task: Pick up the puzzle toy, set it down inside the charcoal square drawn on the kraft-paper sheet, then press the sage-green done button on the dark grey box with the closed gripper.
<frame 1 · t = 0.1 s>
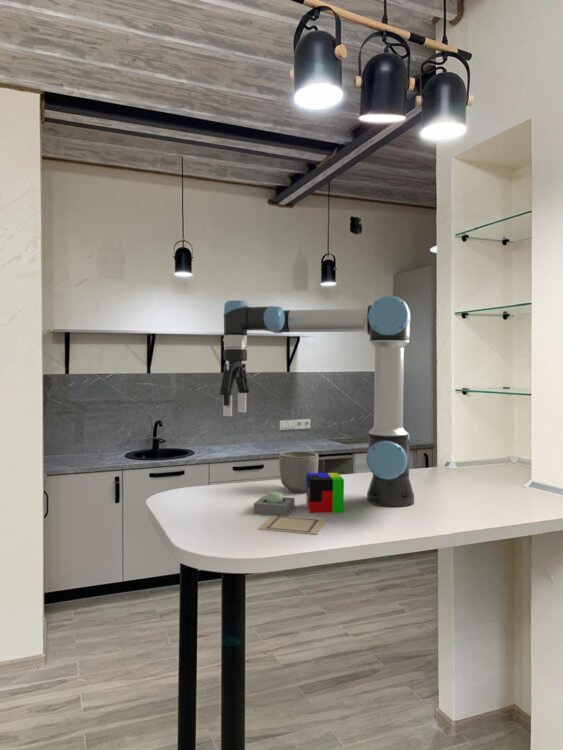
hand: (235, 414, 178), 28 cm above the table, fingers open, 13 cm apart
sheet: (293, 525, 151), on the table
button: (274, 499, 166), point 3 cm above the table, slide at 0.0 cm
puzzle toy: (324, 509, 169), on the table
planter: (298, 491, 192), on the table
button box: (274, 510, 166), on the table
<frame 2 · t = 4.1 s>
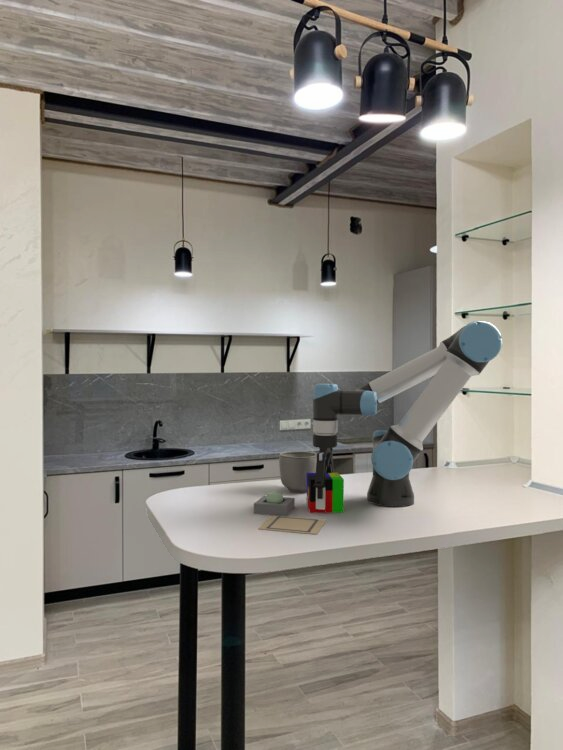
hand: (324, 504, 169), 1 cm above the table, fingers closed on puzzle toy, 12 cm apart
puzzle toy: (324, 508, 169), on the table, touching gripper
everything else where it was.
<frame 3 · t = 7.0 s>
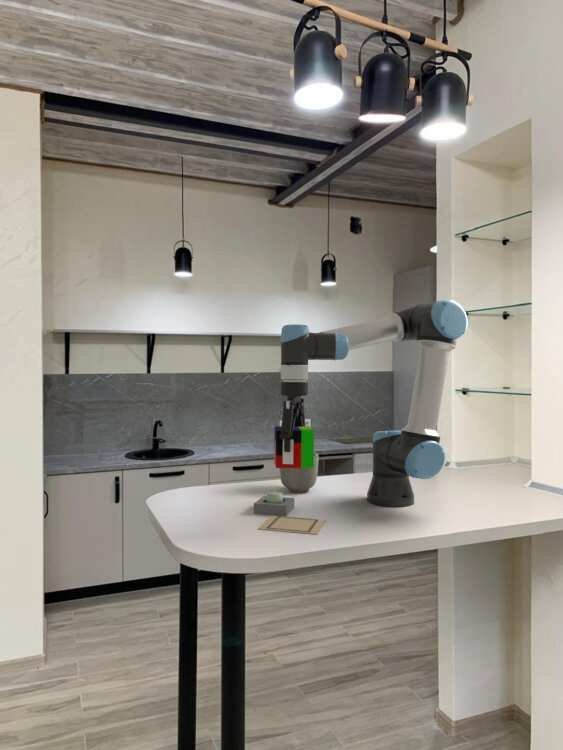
hand: (293, 460, 151), 18 cm above the table, fingers closed on puzzle toy, 12 cm apart
puzzle toy: (293, 465, 151), point 17 cm above the table, touching gripper
everything else where it was.
when the fingers open (3 cm above the table, at t = 10.2 s): puzzle toy drops 2 cm, resting on sheet.
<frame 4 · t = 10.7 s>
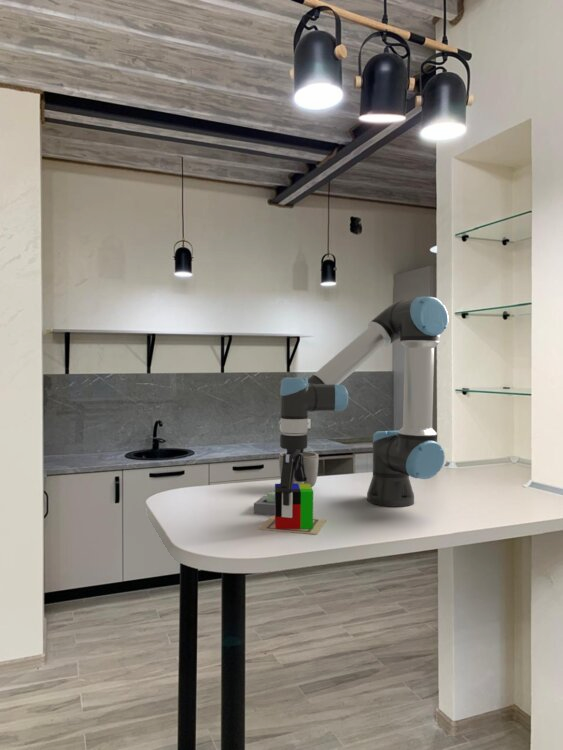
hand: (293, 510, 151), 4 cm above the table, fingers open, 13 cm apart
puzzle toy: (293, 524, 152), resting on sheet
everything else where it was.
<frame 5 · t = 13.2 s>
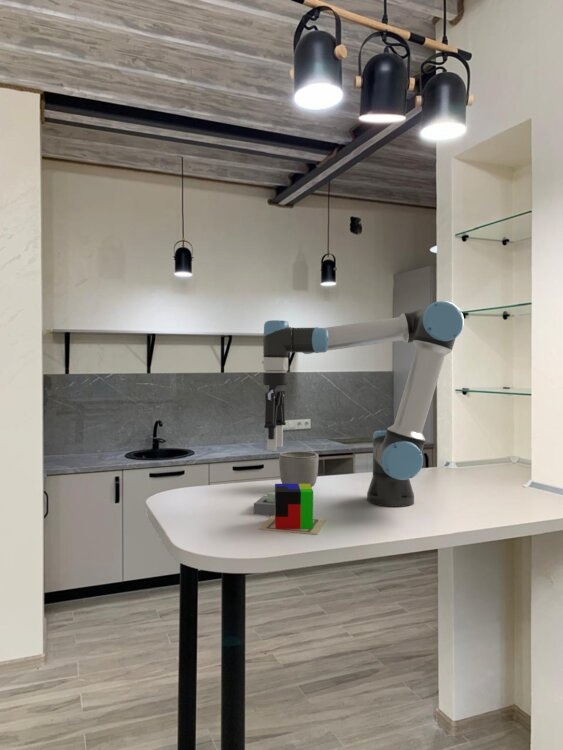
hand: (275, 448, 166), 19 cm above the table, fingers open, 6 cm apart
nothing on the table moved.
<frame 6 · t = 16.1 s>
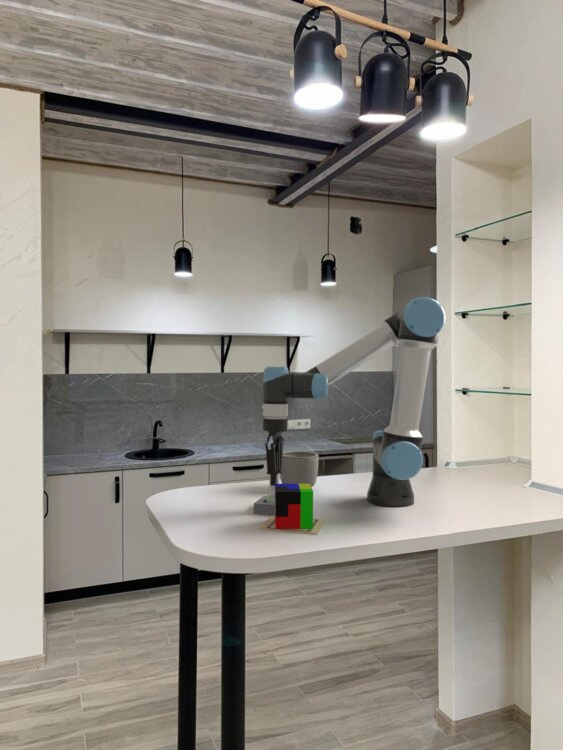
hand: (274, 495, 166), 5 cm above the table, fingers closed
button: (274, 501, 166), point 3 cm above the table, slide at 0.8 cm, touching gripper
everything else where it was.
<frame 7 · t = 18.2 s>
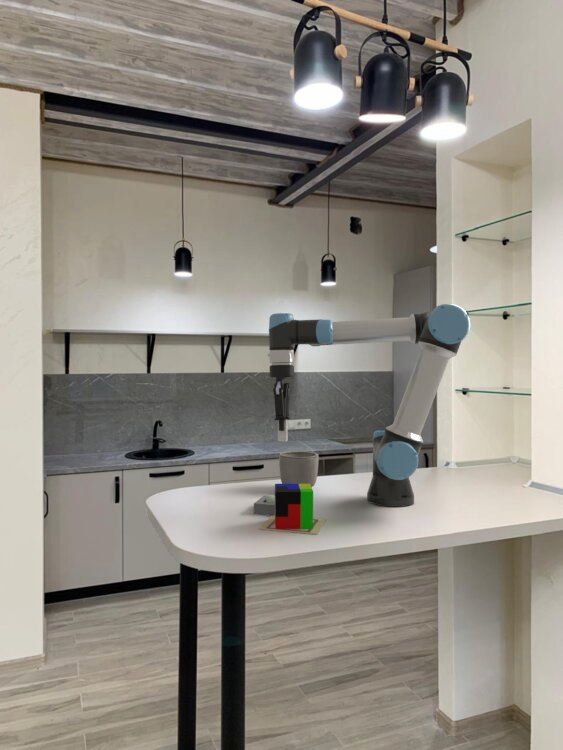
hand: (282, 441, 168), 21 cm above the table, fingers closed
button: (274, 504, 166), point 2 cm above the table, slide at 1.4 cm
everything else where it was.
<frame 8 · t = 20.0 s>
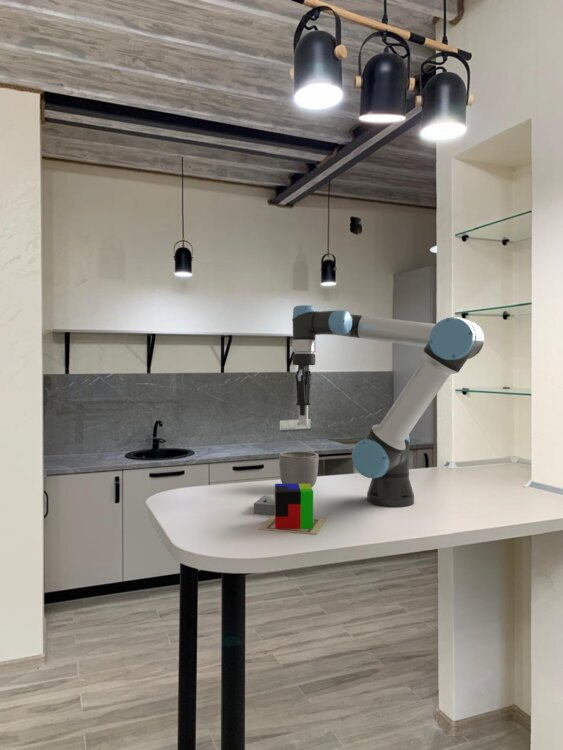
hand: (303, 425, 180), 24 cm above the table, fingers closed
nothing on the table moved.
at the end: puzzle toy 0.2 cm from the sheet (horizontally); the gripper is holding nothing; button slide at 1.4 cm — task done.
